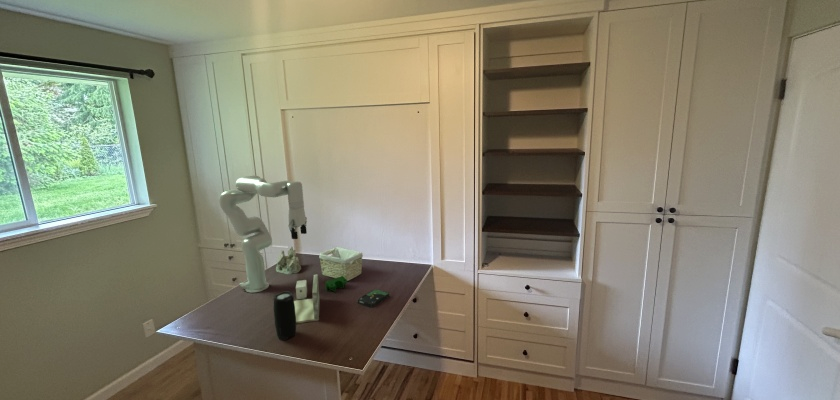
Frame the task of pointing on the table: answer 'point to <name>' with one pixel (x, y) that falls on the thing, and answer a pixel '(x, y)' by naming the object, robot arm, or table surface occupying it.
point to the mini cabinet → (301, 289)
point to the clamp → (335, 283)
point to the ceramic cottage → (288, 262)
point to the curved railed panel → (308, 305)
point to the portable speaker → (284, 315)
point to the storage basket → (341, 263)
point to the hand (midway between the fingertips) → (299, 236)
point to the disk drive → (373, 298)
